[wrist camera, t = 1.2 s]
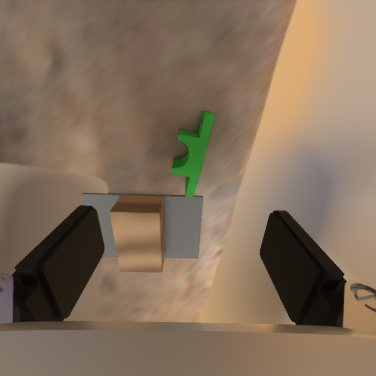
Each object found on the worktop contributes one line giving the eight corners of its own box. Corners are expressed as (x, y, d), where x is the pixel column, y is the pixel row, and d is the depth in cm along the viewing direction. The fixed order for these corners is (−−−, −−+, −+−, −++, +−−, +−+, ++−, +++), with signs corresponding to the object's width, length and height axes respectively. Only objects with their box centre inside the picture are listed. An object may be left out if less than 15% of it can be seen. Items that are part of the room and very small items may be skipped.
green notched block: (184, 106, 25) (183, 106, 20) (210, 112, 25) (215, 114, 21) (169, 180, 29) (166, 193, 25) (192, 184, 30) (193, 198, 25)
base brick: (121, 195, 30) (109, 212, 25) (163, 196, 30) (159, 213, 25) (129, 249, 35) (120, 271, 30) (165, 250, 35) (162, 272, 31)
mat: (82, 192, 30) (81, 194, 30) (202, 196, 30) (202, 197, 30) (98, 255, 36) (97, 256, 36) (197, 256, 36) (198, 258, 36)
